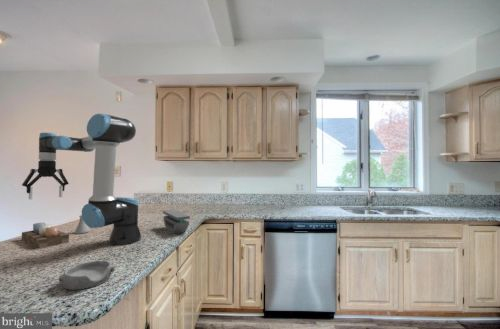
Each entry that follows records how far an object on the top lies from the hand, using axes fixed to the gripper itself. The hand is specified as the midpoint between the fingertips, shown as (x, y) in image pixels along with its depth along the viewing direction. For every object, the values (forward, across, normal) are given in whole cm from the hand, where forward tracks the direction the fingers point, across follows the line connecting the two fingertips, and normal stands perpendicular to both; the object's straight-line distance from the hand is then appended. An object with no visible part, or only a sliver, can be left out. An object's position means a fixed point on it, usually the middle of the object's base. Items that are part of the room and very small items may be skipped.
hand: (46, 198), depth 137 cm
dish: (+21, +11, +78) cm, 81 cm away
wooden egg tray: (+21, +3, +11) cm, 24 cm away
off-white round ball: (+18, +3, +11) cm, 22 cm away
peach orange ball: (+18, +3, +19) cm, 27 cm away
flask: (+22, -16, +8) cm, 28 cm away
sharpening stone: (+21, -51, +49) cm, 73 cm away
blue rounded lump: (+18, +4, +3) cm, 19 cm away
